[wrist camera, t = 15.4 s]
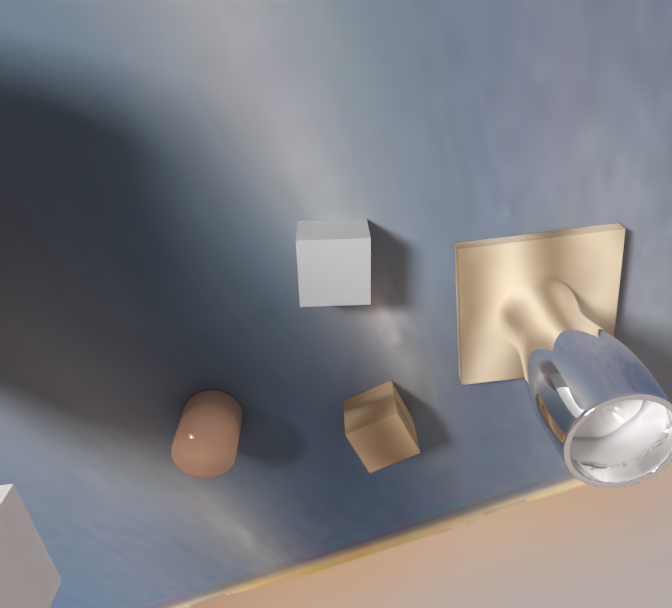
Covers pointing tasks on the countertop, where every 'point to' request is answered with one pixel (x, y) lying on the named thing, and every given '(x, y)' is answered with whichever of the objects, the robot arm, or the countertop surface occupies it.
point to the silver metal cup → (587, 388)
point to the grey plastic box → (334, 262)
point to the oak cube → (380, 427)
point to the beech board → (519, 266)
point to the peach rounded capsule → (207, 434)
